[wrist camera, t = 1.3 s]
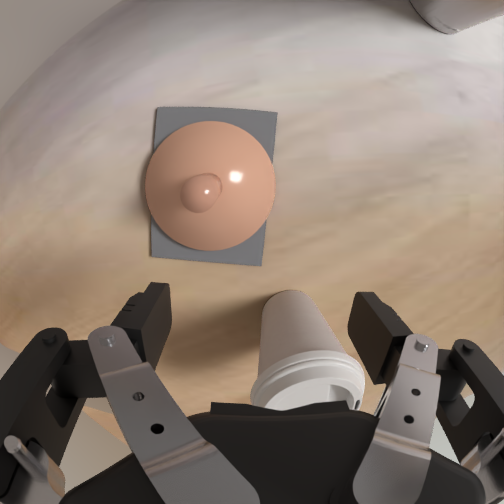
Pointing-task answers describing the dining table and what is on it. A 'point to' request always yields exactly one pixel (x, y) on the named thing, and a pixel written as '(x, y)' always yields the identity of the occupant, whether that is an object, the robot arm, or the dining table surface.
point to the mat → (248, 120)
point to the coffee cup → (302, 358)
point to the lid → (210, 185)
